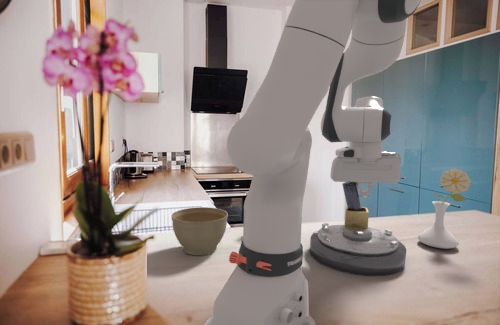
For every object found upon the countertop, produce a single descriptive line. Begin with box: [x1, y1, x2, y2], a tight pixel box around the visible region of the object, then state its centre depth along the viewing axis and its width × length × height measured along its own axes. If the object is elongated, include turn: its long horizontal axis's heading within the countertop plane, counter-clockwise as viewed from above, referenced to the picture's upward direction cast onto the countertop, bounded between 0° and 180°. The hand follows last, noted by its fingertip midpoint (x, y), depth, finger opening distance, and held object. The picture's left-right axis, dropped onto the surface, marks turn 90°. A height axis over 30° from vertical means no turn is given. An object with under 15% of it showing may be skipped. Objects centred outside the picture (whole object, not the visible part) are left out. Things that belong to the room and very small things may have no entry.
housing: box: [309, 230, 407, 277], centre depth 96 cm, size 26×26×4 cm
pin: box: [342, 182, 362, 212], centre depth 102 cm, size 4×4×14 cm
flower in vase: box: [417, 168, 472, 250], centre depth 104 cm, size 13×11×25 cm
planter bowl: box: [171, 206, 229, 256], centre depth 97 cm, size 16×16×11 cm
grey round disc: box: [317, 205, 400, 256], centre depth 95 cm, size 22×22×7 cm
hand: (363, 196), depth 102 cm, fingers closed
